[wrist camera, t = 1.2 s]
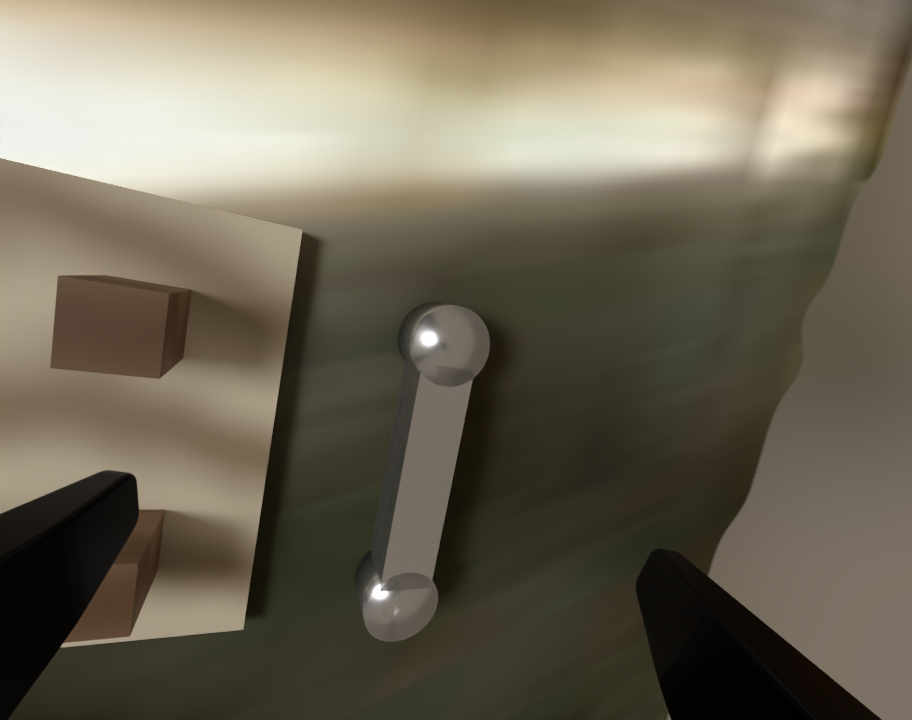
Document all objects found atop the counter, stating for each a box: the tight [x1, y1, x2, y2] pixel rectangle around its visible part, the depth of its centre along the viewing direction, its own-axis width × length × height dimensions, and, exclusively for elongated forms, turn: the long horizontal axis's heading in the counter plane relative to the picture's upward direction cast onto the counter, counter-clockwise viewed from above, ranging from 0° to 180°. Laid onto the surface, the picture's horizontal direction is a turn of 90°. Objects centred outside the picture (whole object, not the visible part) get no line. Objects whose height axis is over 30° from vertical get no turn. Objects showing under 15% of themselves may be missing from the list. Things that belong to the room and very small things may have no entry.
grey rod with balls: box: [355, 302, 490, 642], centre depth 24 cm, size 18×4×3 cm, turn 168°
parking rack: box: [0, 158, 303, 648], centre depth 17 cm, size 20×11×5 cm, turn 168°
